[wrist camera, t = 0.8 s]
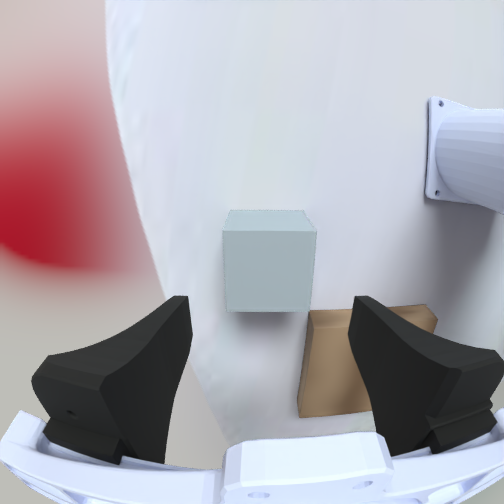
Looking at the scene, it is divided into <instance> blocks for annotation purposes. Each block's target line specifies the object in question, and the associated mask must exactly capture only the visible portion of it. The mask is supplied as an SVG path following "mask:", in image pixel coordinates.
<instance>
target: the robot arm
mask: <svg viewBox="0 0 504 504" xmlns="http://www.w3.org/2000/svg"><path fill="white" fill-rule="evenodd" d="M439 102H440V103H441V107H440V106H439ZM436 190H437V192H438V193H437V195H435V191H436ZM425 194H426V196H427V197H428V198H430V199H436V200H445V201H453V202H461V203H469V204H476V205H482V206H485V207H487V208H489V209H492V210H494V211H497V212H499V213H501V214H503V215H504V109H473V108H471V107H468V106H465V105H462V104H459V103H456V102H453V101H450V100H447V99H443V98H440V97H437V96H432V97H430V98H429V146H428V165H427V179H426V190H425ZM192 336H193V332H192V325H191V317H190V309H189V300H188V296H173V297H172V298H170V299H169V300H167V301H166V302H165V303H163V304H162V305H161V306H160V307H158V308H157V309H156V310H155V311H153V312H152V313H150V314H149V315H148V316H146V317H145V318H143V319H142V320H140V321H139V322H137V323H136V324H134V325H133V326H131V327H129V328H128V329H126V330H124V331H122V332H121V333H119V334H117V335H115V336H113V337H111V338H108V339H106V340H103V341H101V342H99V343H96V344H94V345H91V346H88V347H85V348H81V349H78V350H74V351H70V352H65V353H61V354H55V355H49V356H48V357H47V358H46V359H45V360H44V362H43V363H42V364H41V365H40V367H39V368H38V369H37V371H36V372H35V373H34V375H33V376H32V380H31V382H32V386H33V390H34V392H35V394H36V396H37V398H38V399H39V401H40V402H41V404H42V405H43V407H44V408H45V410H46V412H47V413H48V414H49V416H50V417H51V418H50V420H49V421H48V423H46V422H45V421H43V420H42V419H40V418H39V417H36V416H34V415H32V414H29V413H27V412H25V411H23V410H20V411H19V413H18V414H17V416H16V417H15V419H14V420H13V422H12V424H11V425H10V427H9V428H8V430H7V431H6V433H5V435H4V436H3V438H2V440H1V441H0V461H1V462H2V463H3V464H4V465H5V466H6V467H7V468H8V469H9V470H10V471H11V472H12V473H13V474H14V475H16V476H17V477H18V478H19V479H20V480H21V481H22V482H23V483H25V484H26V485H27V486H28V487H29V488H31V489H33V490H35V491H36V492H38V493H40V494H42V495H44V496H46V497H47V498H49V499H51V500H53V501H55V502H57V503H59V504H459V503H461V502H463V501H464V500H466V499H468V498H470V497H472V496H473V495H475V494H477V493H479V492H480V491H482V490H483V489H485V488H487V487H489V486H490V485H492V484H493V483H495V482H497V481H498V480H500V479H501V478H503V477H504V407H503V408H501V409H499V410H497V411H496V412H495V413H494V414H492V412H491V411H490V409H491V408H492V406H493V404H492V402H491V400H490V397H491V396H492V394H493V393H494V391H495V390H496V388H497V386H498V385H499V383H500V381H501V379H502V377H503V375H504V360H503V359H502V358H501V357H500V356H499V354H498V353H497V352H496V351H495V350H490V349H483V348H476V347H471V346H467V345H463V344H459V343H456V342H453V341H450V340H447V339H444V338H441V337H439V336H436V335H434V334H432V333H430V332H428V331H425V330H423V329H421V328H419V327H417V326H416V325H414V324H412V323H410V322H409V321H407V320H405V319H404V318H402V317H400V316H399V315H397V314H396V313H394V312H393V311H391V310H390V309H388V308H387V307H385V306H384V305H382V304H381V303H379V302H378V301H376V300H374V299H373V298H371V297H369V296H355V298H354V303H353V309H352V314H351V319H350V324H349V329H348V339H349V343H350V347H351V351H352V354H353V357H354V359H355V362H356V364H357V367H358V369H359V372H360V374H361V377H362V379H363V382H364V384H365V387H366V389H367V392H368V395H369V399H370V403H371V407H372V412H373V416H374V421H375V427H376V432H372V431H356V432H349V433H341V434H332V435H322V436H310V437H295V438H263V439H255V440H246V441H243V442H241V443H238V444H236V445H234V446H232V447H230V448H228V449H227V450H226V452H225V454H224V457H223V463H222V469H211V470H203V469H194V468H186V467H178V466H172V465H166V464H164V463H165V452H166V444H167V437H168V430H169V424H170V418H171V413H172V407H173V402H174V397H175V394H176V391H177V388H178V385H179V382H180V379H181V376H182V373H183V370H184V367H185V364H186V362H187V359H188V356H189V352H190V347H191V342H192Z"/></svg>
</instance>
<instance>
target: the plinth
mask: <svg viewBox="0 0 504 504" xmlns="http://www.w3.org/2000/svg"><path fill="white" fill-rule="evenodd" d="M387 308H388V309H390V310H391V311H393V312H394V313H396V314H397V315H399V316H400V317H402V318H404V319H405V320H407V321H409V322H410V323H412V324H414V325H416V326H417V327H419V328H421V329H423V330H425V331H428V332H430V333H432V334H433V332H434V329H435V326H436V323H437V321H438V319H437V317H436V316H435V315H434V314H433V313H432V312H431V310H430V309H429V308H428V307H427V306H426V305H412V306H399V307H387ZM351 314H352V309H342V310H310V312H309V317H308V325H307V333H306V341H305V349H304V357H303V364H302V371H301V377H300V384H299V390H298V397H297V403H298V411H299V418H308V417H322V416H333V415H342V414H351V413H358V412H366V411H372V407H371V403H370V399H369V395H368V392H367V389H366V387H365V384H364V382H363V379H362V377H361V374H360V372H359V369H358V367H357V364H356V362H355V359H354V357H353V354H352V351H351V347H350V343H349V339H348V329H349V324H350V319H351Z"/></svg>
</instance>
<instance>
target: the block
mask: <svg viewBox="0 0 504 504" xmlns="http://www.w3.org/2000/svg"><path fill="white" fill-rule="evenodd" d="M316 235H317V231H316V229H315V228H314V226H313V225H312V223H311V222H310V220H309V219H308V217H307V215H306V214H305V212H304V211H299V210H230V213H229V215H228V218H227V221H226V223H225V226H224V228H223V258H224V281H225V302H226V311H227V312H310V303H311V294H312V283H313V273H314V261H315V249H316Z"/></svg>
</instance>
